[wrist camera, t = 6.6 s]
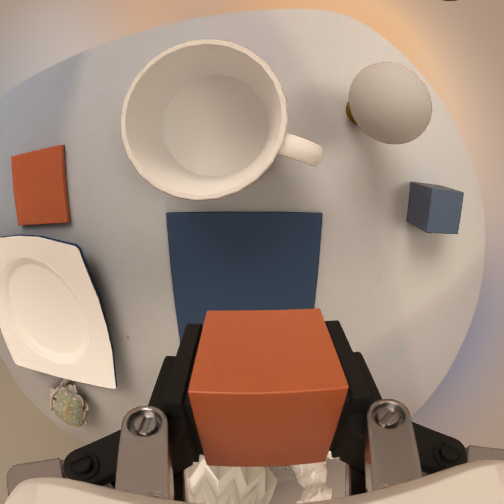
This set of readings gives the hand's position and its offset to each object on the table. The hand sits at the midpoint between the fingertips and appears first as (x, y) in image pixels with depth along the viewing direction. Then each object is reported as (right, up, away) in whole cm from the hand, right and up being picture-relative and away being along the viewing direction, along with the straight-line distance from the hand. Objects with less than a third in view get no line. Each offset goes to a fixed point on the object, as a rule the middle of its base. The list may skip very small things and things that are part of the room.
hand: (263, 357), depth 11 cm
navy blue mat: (-1, 0, +18) cm, 18 cm away
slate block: (+17, +9, +15) cm, 24 cm away
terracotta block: (0, 0, 0) cm, 0 cm away
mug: (-2, +14, +13) cm, 20 cm away
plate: (-26, -3, +20) cm, 33 cm away
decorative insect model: (-29, -19, +26) cm, 43 cm away
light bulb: (+9, +16, +13) cm, 23 cm away
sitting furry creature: (+9, -28, +29) cm, 41 cm away
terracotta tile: (-23, +11, +14) cm, 29 cm away
